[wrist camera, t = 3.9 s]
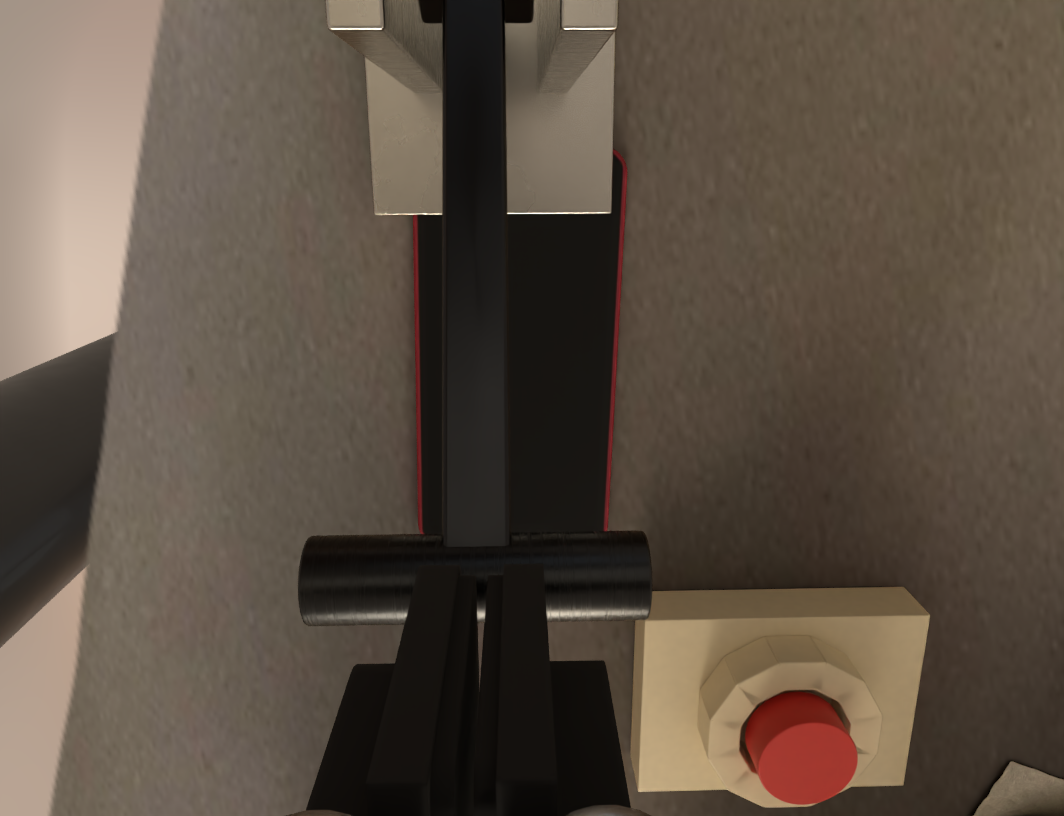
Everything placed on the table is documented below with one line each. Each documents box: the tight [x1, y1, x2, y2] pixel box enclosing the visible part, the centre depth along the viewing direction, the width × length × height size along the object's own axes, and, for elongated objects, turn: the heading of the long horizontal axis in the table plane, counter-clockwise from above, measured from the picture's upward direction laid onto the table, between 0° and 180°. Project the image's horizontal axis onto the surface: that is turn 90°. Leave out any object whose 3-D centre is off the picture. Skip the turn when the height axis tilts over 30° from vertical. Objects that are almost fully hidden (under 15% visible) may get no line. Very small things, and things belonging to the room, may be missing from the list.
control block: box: [630, 587, 930, 808], centre depth 32 cm, size 11×8×4 cm
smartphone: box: [413, 149, 627, 534], centre depth 29 cm, size 7×1×15 cm
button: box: [745, 692, 858, 805], centre depth 29 cm, size 4×4×2 cm
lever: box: [298, 0, 652, 626], centre depth 14 cm, size 14×6×2 cm, turn 0°
